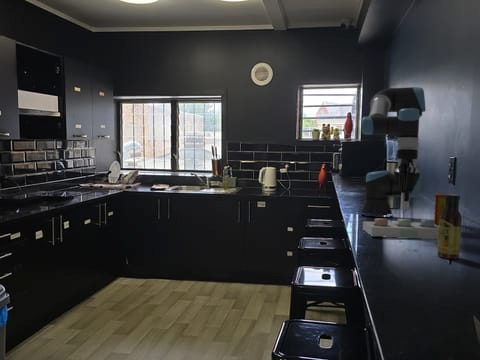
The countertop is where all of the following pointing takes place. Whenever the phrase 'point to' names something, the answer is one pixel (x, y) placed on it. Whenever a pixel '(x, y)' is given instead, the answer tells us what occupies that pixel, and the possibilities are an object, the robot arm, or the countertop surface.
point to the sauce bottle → (450, 228)
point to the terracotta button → (381, 222)
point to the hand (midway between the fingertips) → (404, 209)
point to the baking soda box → (438, 206)
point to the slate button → (427, 223)
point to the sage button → (404, 223)
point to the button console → (401, 230)
